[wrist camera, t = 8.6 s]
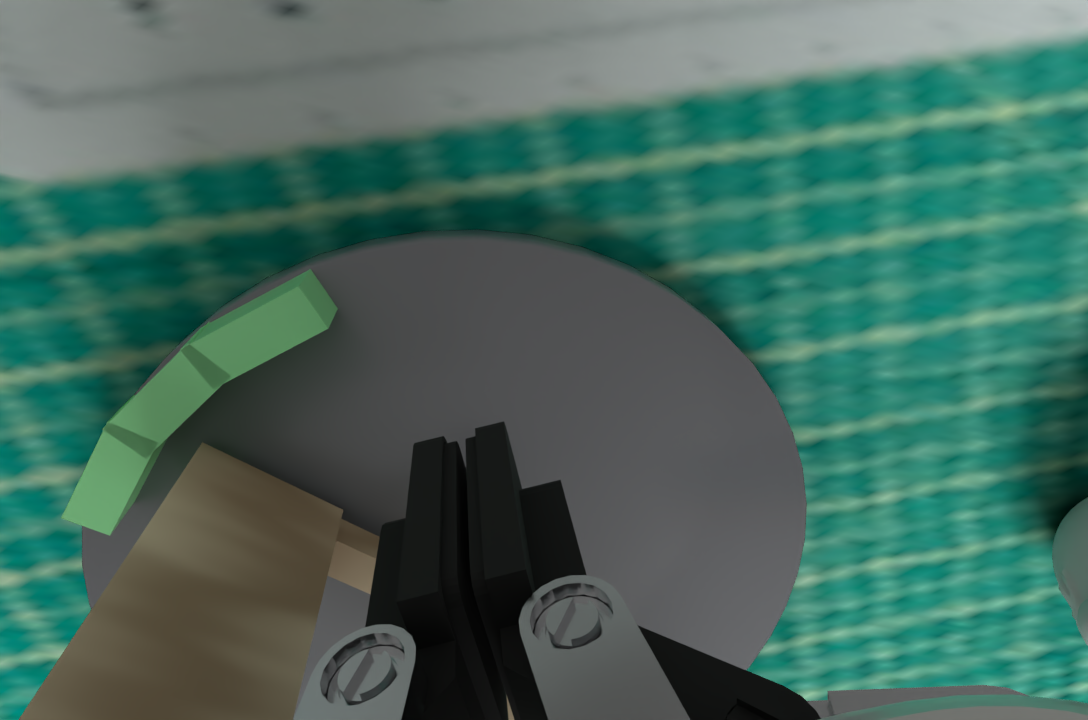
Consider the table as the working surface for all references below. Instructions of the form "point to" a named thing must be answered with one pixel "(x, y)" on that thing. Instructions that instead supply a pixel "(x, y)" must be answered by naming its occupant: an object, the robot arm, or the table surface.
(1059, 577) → the grey rounded lump
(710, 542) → the dial face
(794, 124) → the table surface
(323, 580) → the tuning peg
